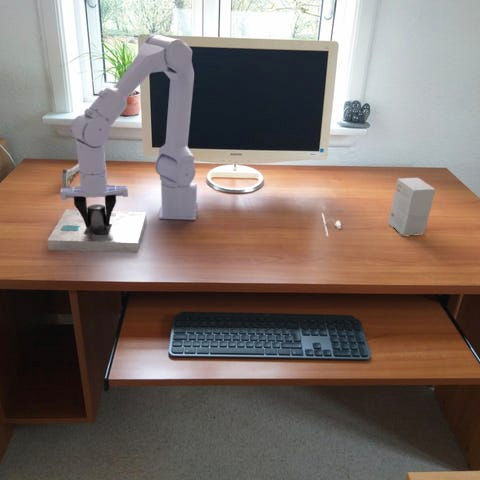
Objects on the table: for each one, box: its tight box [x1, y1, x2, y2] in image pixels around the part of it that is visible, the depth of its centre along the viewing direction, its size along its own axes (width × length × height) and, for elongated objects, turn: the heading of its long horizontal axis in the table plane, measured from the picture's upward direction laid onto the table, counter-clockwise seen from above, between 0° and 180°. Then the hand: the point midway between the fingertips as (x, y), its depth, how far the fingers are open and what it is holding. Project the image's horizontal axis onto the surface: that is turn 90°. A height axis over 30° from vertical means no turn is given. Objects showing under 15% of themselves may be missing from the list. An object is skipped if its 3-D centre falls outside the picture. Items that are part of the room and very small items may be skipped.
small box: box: [387, 177, 436, 237], centre depth 130 cm, size 8×6×13 cm
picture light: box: [321, 212, 342, 238], centre depth 132 cm, size 14×4×2 cm, turn 177°
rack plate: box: [46, 208, 148, 253], centre depth 121 cm, size 20×16×3 cm
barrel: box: [87, 204, 107, 235], centre depth 117 cm, size 4×4×6 cm
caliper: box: [61, 163, 79, 188], centre depth 150 cm, size 20×1×6 cm, turn 4°
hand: (97, 224), depth 118 cm, fingers closed on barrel, 4 cm apart
